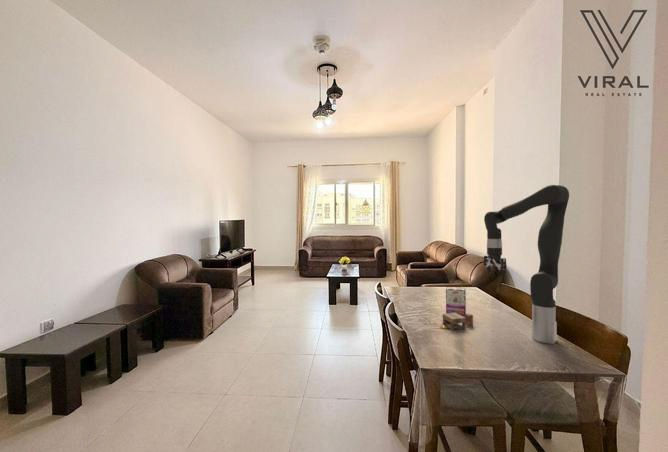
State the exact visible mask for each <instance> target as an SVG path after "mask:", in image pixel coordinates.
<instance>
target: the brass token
mask: <svg viewBox="0 0 668 452" xmlns="http://www.w3.org/2000/svg"><path fill="white" fill-rule="evenodd" d="M439 327H440V329H443V330H448V329H449V328H448V326H447V325H443V324H440V325H439Z"/></svg>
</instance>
